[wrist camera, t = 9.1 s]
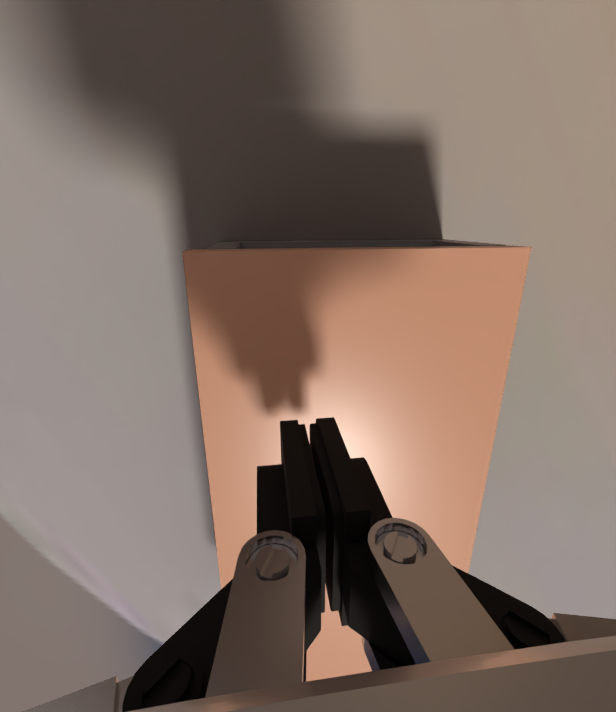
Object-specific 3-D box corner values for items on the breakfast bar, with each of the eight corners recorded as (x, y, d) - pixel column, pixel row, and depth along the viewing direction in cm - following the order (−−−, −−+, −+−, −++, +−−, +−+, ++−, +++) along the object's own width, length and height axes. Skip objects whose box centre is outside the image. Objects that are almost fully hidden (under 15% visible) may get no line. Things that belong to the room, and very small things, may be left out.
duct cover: (188, 249, 12) (182, 251, 11) (512, 245, 13) (531, 247, 13) (235, 678, 20) (234, 701, 19) (441, 649, 21) (449, 669, 20)
